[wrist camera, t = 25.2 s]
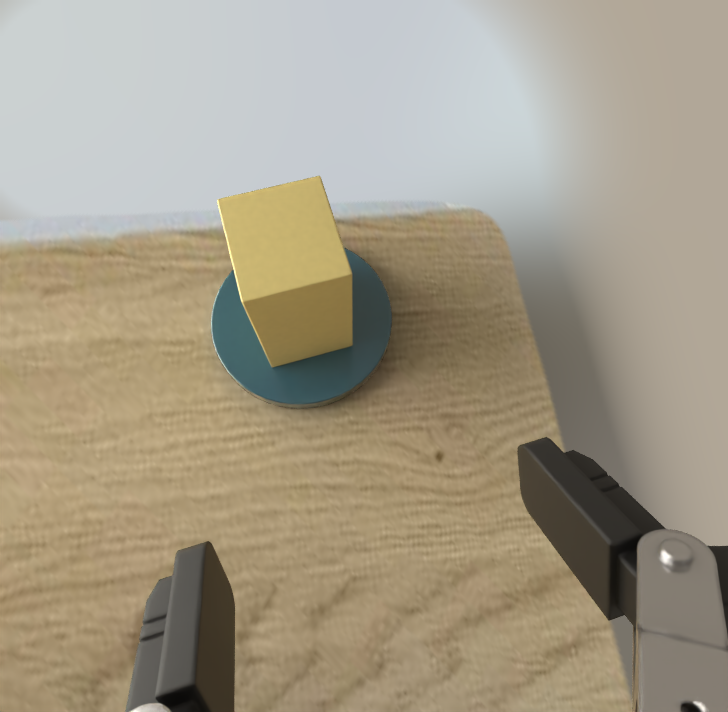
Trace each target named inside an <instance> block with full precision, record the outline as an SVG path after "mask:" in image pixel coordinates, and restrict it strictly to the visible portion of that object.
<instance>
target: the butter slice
mask: <svg viewBox="0 0 728 712" xmlns="http://www.w3.org/2000/svg"><path fill="white" fill-rule="evenodd" d="M217 203H218V207H219V212H220V216H221V220H222V224H223V228H224V232H225V236H226V240H227V244H228V249H229V253H230V257H231V261H232V265H233V269H234V273H235V277H236V282H237V286H238V290H239V294H240V298H241V302H242V304H243V306H244V308H245V311H246V313H247V315H248V317H249V319H250V321H251V324H252V326H253V328H254V330H255V332H256V334H257V337H258V339H259V341H260V343H261V345H262V347H263V350H264V352H265V354H266V356H267V358H268V360H269V363H270V365H271V367H276V366H280V365H284V364H287V363H291V362H295V361H298V360H302V359H306V358H309V357H313V356H317V355H320V354H324V353H328V352H331V351H335V350H339V349H342V348H346V347H350V346H352V345H353V335H352V271H351V268H350V265H349V262H348V259H347V256H346V253H345V250H344V247H343V243H342V240H341V237H340V234H339V231H338V228H337V225H336V222H335V219H334V216H333V213H332V210H331V207H330V204H329V201H328V198H327V195H326V192H325V189H324V186H323V183H322V180H321V177H320V176H316V177H312V178H307V179H303V180H299V181H294V182H290V183H286V184H282V185H277V186H273V187H269V188H264V189H260V190H256V191H251V192H247V193H242V194H238V195H234V196H230V197H225V198H221V199H218V200H217Z"/></svg>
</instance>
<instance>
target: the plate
mask: <svg viewBox="0 0 728 712" xmlns="http://www.w3.org/2000/svg"><path fill="white" fill-rule="evenodd" d="M344 250H345V253H346V256H347V259H348V262H349V265H350V268H351V271H352V335H353V345H352V346H350V347H346V348H342V349H339V350H335V351H331V352H328V353H324V354H320V355H317V356H313V357H309V358H306V359H302V360H298V361H295V362H291V363H287V364H284V365H280V366H276V367H271V365H270V363H269V360H268V358H267V356H266V354H265V352H264V350H263V347H262V345H261V343H260V341H259V339H258V337H257V334H256V332H255V330H254V328H253V326H252V324H251V321H250V319H249V317H248V315H247V313H246V311H245V308H244V306H243V304H242V302H241V298H240V294H239V290H238V286H237V282H236V277H235V273H234V269H233V270H232V271H231V273H230V274H229V275H228V277H227V278H226V279H225V281H224V282H223V284H222V286H221V287H220V289H219V292H218V294H217V296H216V299H215V302H214V306H213V310H212V317H211V333H212V339H213V344H214V347H215V350H216V353H217V355H218V357H219V359H220V361H221V363H222V365H223V366H224V367H225V369H226V370H227V372H228V373H229V374H230V376H231V377H232V378H233V379H234V380H235V381H236V383H237V384H238V385H239V386H241V387H242V388H243V389H244V390H246V391H247V392H248V393H250V394H251V395H253V396H255V397H256V398H258V399H260V400H263V401H265V402H267V403H270V404H273V405H277V406H281V407H287V408H313V407H319V406H323V405H327V404H331V403H333V402H336V401H338V400H341V399H343V398H345V397H346V396H348V395H350V394H352V393H353V392H355V391H356V390H357V389H359V388H360V387H361V386H362V385H363V384H364V383H366V382H367V381H368V380H369V379H370V377H371V376H372V375H373V374H374V373H375V371H376V370H377V368H378V367H379V365H380V363H381V362H382V360H383V358H384V355H385V353H386V351H387V347H388V344H389V340H390V335H391V327H392V311H391V305H390V300H389V297H388V294H387V291H386V289H385V287H384V285H383V283H382V281H381V280H380V278H379V276H378V275H377V273H376V272H375V271H374V270H373V269H372V268H371V266H370V265H369V264H367V263H366V262H365V261H364V260H363V259H362V258H360V257H359V256H358V255H356V254H355V253H353V252H351V251H350V250H348V249H346V248H344Z"/></svg>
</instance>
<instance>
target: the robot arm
mask: <svg viewBox="0 0 728 712" xmlns="http://www.w3.org/2000/svg"><path fill="white" fill-rule="evenodd" d="M517 452H518V465H519V477H520V489H521V495H522V499H523V502H524V504H525V506H526V508H527V510H528V512H529V514H530V515H531V517H532V518H533V519H534V521H535V522H536V523H537V525H538V526H539V527H540V529H541V530H542V531H543V533H544V534H545V536H546V537H547V538H548V540H549V541H550V542H551V544H552V545H553V546H554V548H555V549H556V550H557V552H558V553H559V554H560V556H561V557H562V558H563V560H564V561H565V562H566V564H567V565H568V566H569V568H570V569H571V570H572V572H573V573H574V575H575V576H576V577H577V579H578V580H579V581H580V583H581V584H582V585H583V587H584V588H585V589H586V591H587V592H588V593H589V595H590V596H591V597H592V599H593V600H594V601H595V603H596V604H597V605H598V607H599V608H600V610H601V611H602V612H603V614H604V615H605V616H606V618H607V619H608V620H612V619H615V618H617V617H620V616H623V615H625V616H626V617H627V618H628V620H629V621H630V622H631V623H632V625H633V682H632V712H728V546H706V545H705V544H704V543H703V542H702V541H700V540H699V539H697V538H695V537H694V536H692V535H689V534H687V533H684V532H681V531H677V530H668V529H665V528H664V527H663V526H662V525H661V524H660V523H659V522H658V521H657V520H656V519H655V518H654V517H653V516H652V515H651V514H650V513H649V512H647V510H645V509H644V508H643V507H642V506H641V505H640V504H639V503H638V502H637V501H636V500H635V499H634V498H633V497H632V496H631V495H629V493H628V492H627V491H625V490H624V489H623V488H622V487H620V486H619V484H618V483H617V482H616V481H615V480H614V479H613V478H612V477H611V476H608V475H607V472H606V471H604V470H603V469H602V468H601V467H600V466H599V465H598V464H597V463H596V462H595V461H594V460H593V459H591V458H589V457H586V456H585V455H582V454H580V453H578V452H576V451H574V450H572V451H569V452H566V453H563V452H562V451H561V449H560V448H559V447H558V446H557V445H556V444H555V443H554V442H553V441H552V440H551V439H549V438H547V437H545V438H542V439H538V440H535V441H532V442H529V443H526V444H522V445H520V446H519V447H518V451H517ZM139 640H140V643H139V644H138V649H137V654H136V659H135V664H134V670H133V675H132V680H131V685H130V690H129V695H128V701H127V706H126V710H125V712H234V673H235V604H234V597H233V593H232V589H231V586H230V583H229V581H228V578H227V576H226V574H225V572H224V570H223V567H222V565H221V563H220V561H219V559H218V556H217V554H216V552H215V550H214V548H213V546H212V544H211V543H210V542H209V541H207V542H204V543H201V544H197V545H194V546H191V547H188V548H185V549H181V550H178V551H177V553H176V557H175V563H174V570H173V576H170V577H166V578H163V579H160V580H159V581H158V583H157V584H156V586H155V588H154V589H153V591H152V593H151V594H150V596H149V598H148V600H147V602H146V607H145V612H144V618H143V626H142V628H141V633H140V638H139Z"/></svg>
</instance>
